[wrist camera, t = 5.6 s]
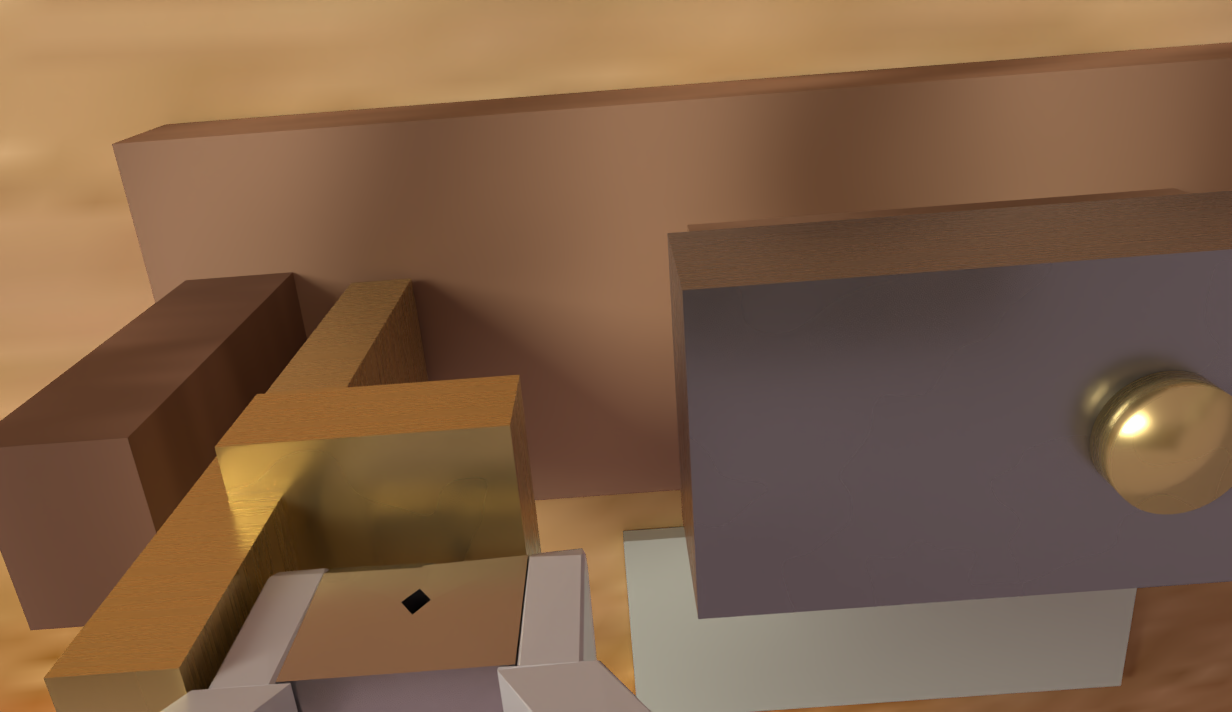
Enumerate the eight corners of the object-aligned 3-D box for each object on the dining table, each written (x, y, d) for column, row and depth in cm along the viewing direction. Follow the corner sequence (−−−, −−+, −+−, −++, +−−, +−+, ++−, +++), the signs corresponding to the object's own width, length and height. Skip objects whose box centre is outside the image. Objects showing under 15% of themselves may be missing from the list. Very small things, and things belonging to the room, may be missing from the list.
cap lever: (545, 232, 15) (480, 578, 7) (564, 409, 17) (529, 897, 8) (344, 248, 15) (18, 611, 7) (377, 423, 17) (137, 922, 8)
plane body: (1529, 19, 16) (2287, 61, 9) (1426, 384, 19) (1949, 646, 12) (165, 124, 17) (-176, 249, 9) (251, 470, 19) (39, 779, 12)
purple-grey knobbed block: (1349, 182, 12) (1556, 240, 10) (1283, 473, 14) (1444, 593, 11) (667, 233, 13) (686, 305, 10) (682, 516, 14) (702, 645, 12)
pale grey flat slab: (1140, 493, 20) (1151, 503, 20) (1111, 673, 22) (1121, 685, 21) (623, 531, 20) (623, 541, 20) (637, 706, 22) (638, 719, 22)
